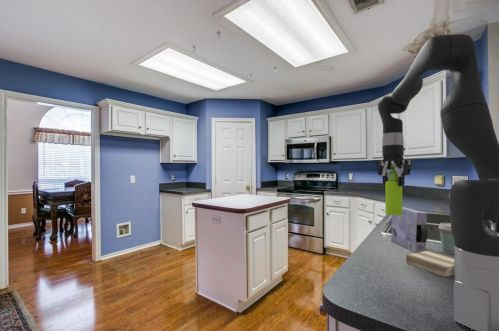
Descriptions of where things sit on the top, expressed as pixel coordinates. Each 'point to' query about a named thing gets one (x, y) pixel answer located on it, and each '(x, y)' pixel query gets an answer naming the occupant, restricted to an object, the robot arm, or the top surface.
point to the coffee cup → (446, 238)
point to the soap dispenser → (393, 195)
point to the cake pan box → (410, 230)
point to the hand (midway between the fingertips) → (393, 185)
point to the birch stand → (432, 262)
